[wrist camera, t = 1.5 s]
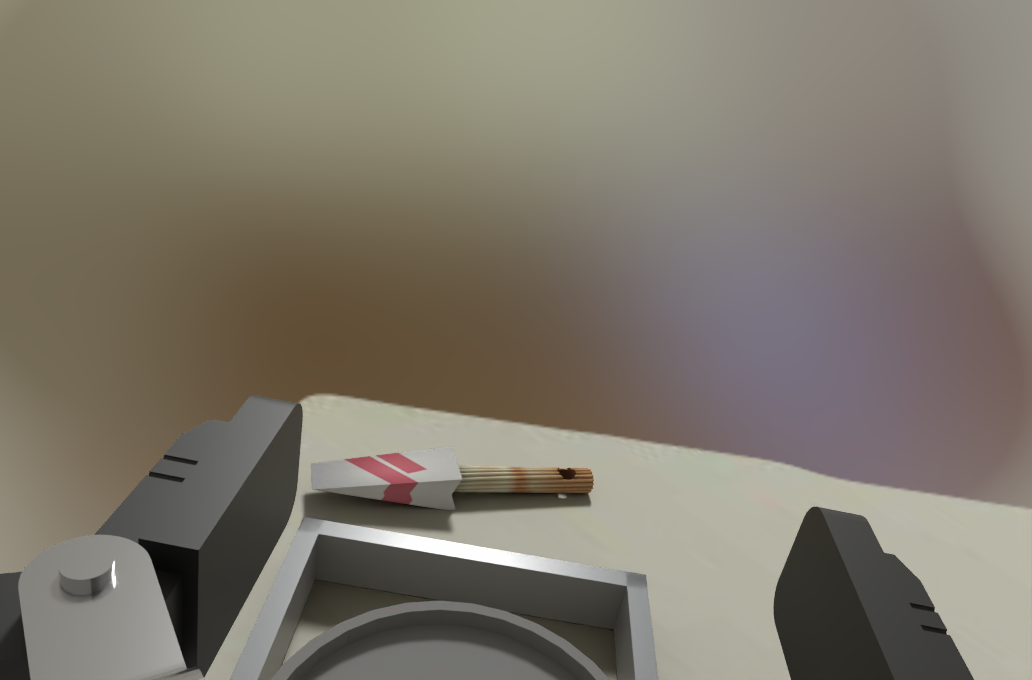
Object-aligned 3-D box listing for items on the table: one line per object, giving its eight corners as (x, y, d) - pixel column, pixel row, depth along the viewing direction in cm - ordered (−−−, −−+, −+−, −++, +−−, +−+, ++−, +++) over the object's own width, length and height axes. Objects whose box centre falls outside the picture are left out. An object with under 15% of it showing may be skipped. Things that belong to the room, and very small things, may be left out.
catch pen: (654, 856, 37) (673, 808, 35) (206, 784, 36) (205, 732, 35) (632, 617, 50) (645, 574, 48) (300, 562, 49) (303, 516, 48)
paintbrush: (312, 440, 55) (586, 451, 61) (309, 473, 57) (577, 480, 62) (313, 475, 52) (602, 483, 58) (309, 509, 53) (592, 513, 59)
